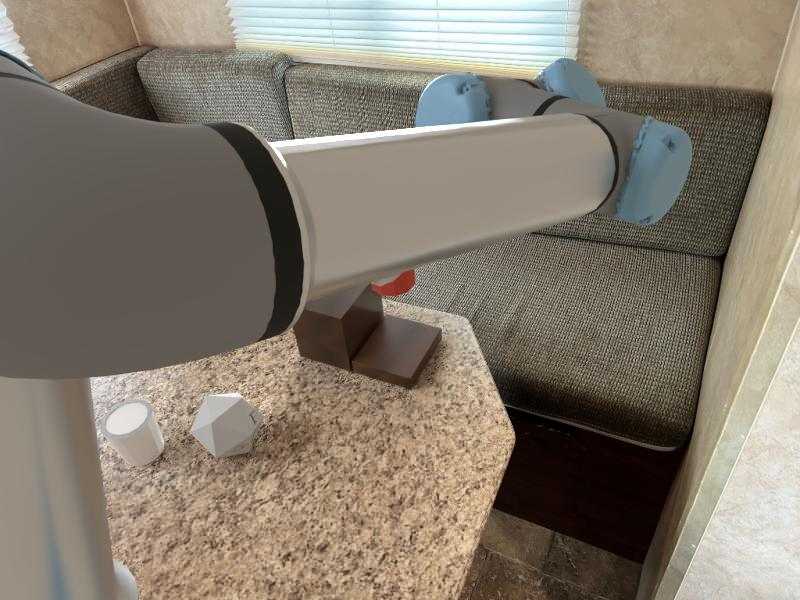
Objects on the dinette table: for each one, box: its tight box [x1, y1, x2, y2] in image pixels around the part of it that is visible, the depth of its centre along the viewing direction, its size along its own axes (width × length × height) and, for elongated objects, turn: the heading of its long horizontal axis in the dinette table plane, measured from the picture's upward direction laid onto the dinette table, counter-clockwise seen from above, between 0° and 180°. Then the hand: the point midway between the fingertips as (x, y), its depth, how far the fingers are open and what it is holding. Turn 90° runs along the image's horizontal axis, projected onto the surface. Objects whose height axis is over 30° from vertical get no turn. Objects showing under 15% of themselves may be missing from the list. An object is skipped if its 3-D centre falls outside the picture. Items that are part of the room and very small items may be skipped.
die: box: [189, 392, 265, 459], centre depth 83 cm, size 8×9×10 cm
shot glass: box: [99, 398, 165, 467], centre depth 84 cm, size 7×7×7 cm
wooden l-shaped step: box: [292, 283, 443, 391], centre depth 95 cm, size 20×12×11 cm, turn 64°
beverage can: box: [371, 269, 416, 297], centre depth 82 cm, size 6×6×12 cm
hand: (368, 261), depth 85 cm, fingers closed on beverage can, 6 cm apart
